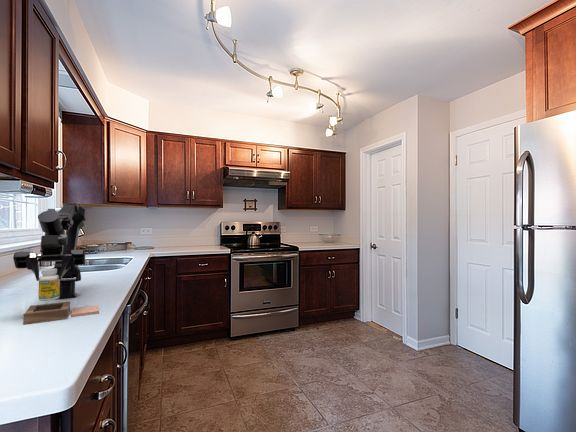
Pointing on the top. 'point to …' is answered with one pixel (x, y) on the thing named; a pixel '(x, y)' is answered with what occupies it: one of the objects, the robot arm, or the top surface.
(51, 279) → the supplement bottle
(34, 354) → the top surface
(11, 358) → the top surface
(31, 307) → the pocket block
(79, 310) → the coaster
